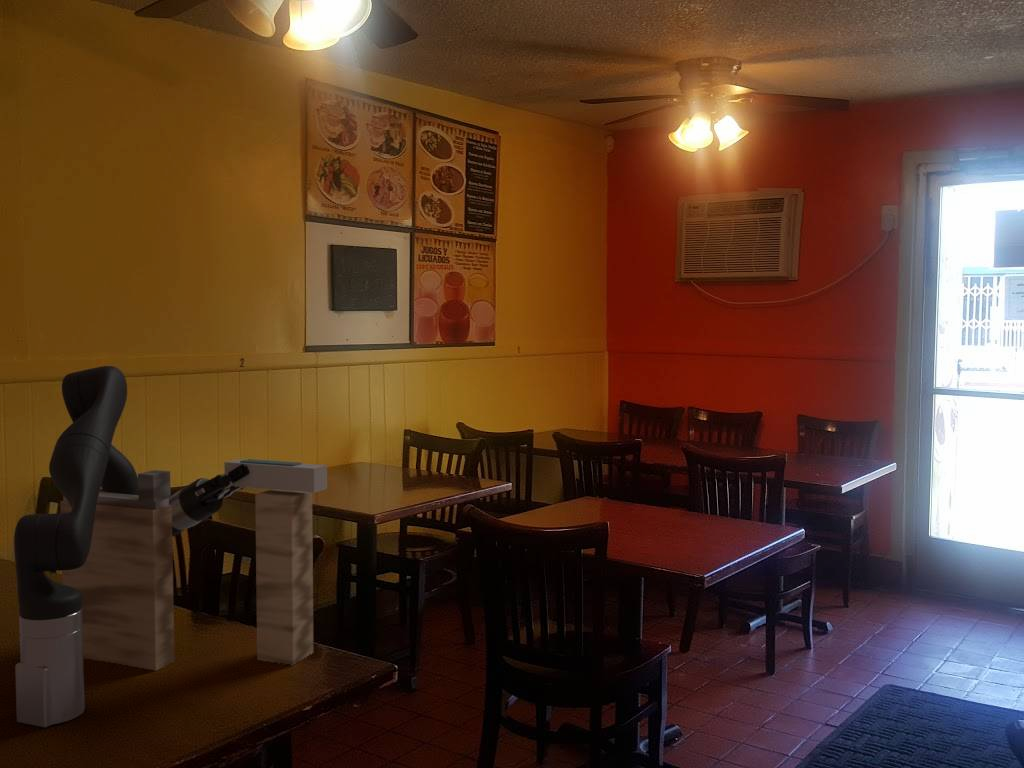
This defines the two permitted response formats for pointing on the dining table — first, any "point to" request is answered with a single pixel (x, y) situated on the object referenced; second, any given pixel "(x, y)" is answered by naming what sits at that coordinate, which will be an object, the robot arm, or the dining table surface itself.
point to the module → (281, 475)
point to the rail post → (129, 577)
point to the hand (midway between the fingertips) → (254, 466)
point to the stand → (284, 575)
